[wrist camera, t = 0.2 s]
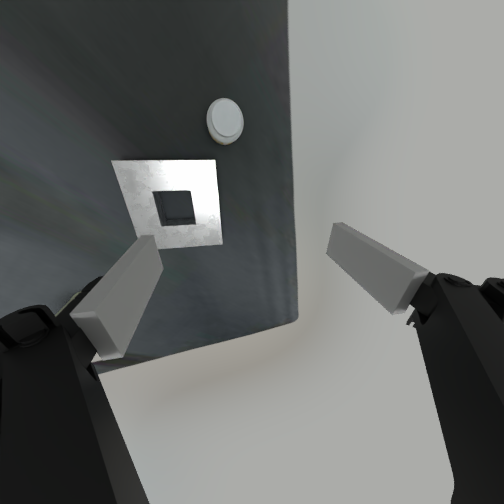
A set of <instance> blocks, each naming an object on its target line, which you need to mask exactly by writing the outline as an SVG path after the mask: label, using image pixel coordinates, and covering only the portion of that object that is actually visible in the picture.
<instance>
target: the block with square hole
mask: <svg viewBox="0 0 504 504" xmlns="http://www.w3.org/2000/svg"><path fill="white" fill-rule="evenodd" d="M112 164H113V167H114V170H115V173H116V176H117V179H118V182H119V185H120V187H121V190H122V193H123V196H124V199H125V202H126V205H127V208H128V211H129V214H130V216H131V219H132V222H133V225H134V228H135V231H136V234H137V237H138V238H139V237H140V236H141V235H154V239H155V242H156V245H157V249H166V248H179V247H192V246H205V245H218V244H223V242H222V229H221V218H220V207H219V196H218V185H217V174H216V163H215V159H189V160H114V161H112ZM177 190H191V194H192V201H193V207H194V213H195V218H190V219H171V220H166V216H165V212H164V208H163V204H162V200H161V195H160V191H177Z"/></svg>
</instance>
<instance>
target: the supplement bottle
mask: <svg viewBox="0 0 504 504" xmlns="http://www.w3.org/2000/svg"><path fill="white" fill-rule="evenodd" d="M243 125H244V120H243V115H242V112H241V110H240V108H239V107H238V105H237V104H236V103H235V102H234V101H232V100H230V99H227V98H220V99H217V100H215V101H214V102H213V103H212V104H211V105H210V107H209V109H208V112H207V126H208V130H209V133H210V135H211V137H212V138H213V139H214V140H215V141H216V142H217V143H219V144H221V145H228V144H230V143H232V142H234V141H236V140H237V139H238V138H239V136H240V135H241V133H242V130H243Z"/></svg>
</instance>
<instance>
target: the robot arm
mask: <svg viewBox="0 0 504 504" xmlns="http://www.w3.org/2000/svg"><path fill="white" fill-rule="evenodd" d="M326 254H327V255H328V256H329V257H330V258H331V259H332V260H334V261H335V262H336V263H337V264H338V265H339V266H340V267H341V268H342V269H343V270H344V271H346V272H347V273H348V274H349V275H350V276H351V277H352V278H353V279H354V280H355V281H356V282H357V283H358V284H359V285H361V286H362V287H363V288H364V289H365V290H366V291H367V292H368V293H369V294H370V295H371V296H372V297H374V298H375V299H376V300H377V301H378V302H379V303H380V304H381V305H382V306H383V307H384V308H386V310H388V311H389V312H390V313H391V314H392V315H394V314H400V313H405V311H406V310H407V308H408V306H409V305H412V306H413V307H414V308H415V310H414V311H413V313H412V315H411V316H410V318H409V319H408V321H407V325H409V324H410V323H411V322H415V324H414V325H413V327H415V328H416V330H417V334H418V338H419V342H420V346H421V350H422V354H423V358H424V362H425V366H426V370H427V374H428V377H429V382H430V385H431V389H432V393H433V397H434V401H435V405H436V409H437V413H438V417H439V421H440V425H441V429H442V433H443V437H444V441H445V445H446V449H447V452H448V456H449V460H450V464H451V468H452V472H453V477H454V491H453V495H452V498H451V504H504V279H500V278H487V279H486V280H485V281H484V283H483V284H482V285H481V286H478V285H473V284H472V283H471V282H469V281H467V280H465V279H463V278H460V277H458V276H455V275H450V274H445V273H439V274H437V275H435V274H433V273H431V272H429V270H427V269H425V268H423V267H421V266H420V265H418V264H416V263H414V262H413V261H411V260H409V259H407V258H405V257H404V256H402V255H400V254H398V253H396V252H394V251H393V250H391V249H389V248H387V247H385V246H384V245H382V244H380V243H378V242H377V241H375V240H373V239H371V238H369V237H368V236H366V235H364V234H362V233H360V232H359V231H357V230H355V229H353V228H351V227H350V226H348V225H346V224H344V223H333V227H332V231H331V235H330V240H329V244H328V248H327V252H326ZM162 271H163V266H162V262H161V259H160V256H159V252H158V249H157V245H156V242H155V239H154V235H141V236H140V237H139V238H138V239H137V240H136V241H135V243H134V244H133V245H132V246H131V247H130V248H129V249H128V250H127V251H126V252H125V254H124V255H123V256H122V257H121V258H120V259H119V260H118V261H117V262H116V263H115V265H114V266H113V267H112V268H111V269H110V270H109V271H108V272H107V273H106V274H105V275H104V276H101V277H98V278H96V279H95V280H93V281H92V282H90V283H89V284H88V285H87V286H86V287H85V288H84V289H83V290H82V291H81V293H79V294H78V295H77V296H76V297H75V299H73V300H72V301H71V302H70V303H69V304H68V305H67V306H66V307H65V308H64V309H63V310H62V311H61V312H60V313H59V314H58V315H57V316H56V317H55V315H54V314H53V313H52V311H51V310H50V309H49V308H48V307H47V306H46V305H34V306H29V307H26V308H23V309H20V310H17V311H15V312H13V313H10V314H8V315H6V316H4V317H3V318H1V319H0V504H149V501H148V499H147V497H146V494H145V491H144V489H143V486H142V484H141V482H140V479H139V477H138V474H137V471H136V469H135V467H134V464H133V461H132V459H131V456H130V454H129V451H128V449H127V447H126V444H125V442H124V439H123V437H122V434H121V431H120V429H119V427H118V424H117V422H116V419H115V417H114V414H113V412H112V409H111V407H110V404H109V402H108V399H107V397H106V394H105V392H104V389H103V387H102V384H101V382H100V379H99V377H98V374H97V372H96V369H95V367H94V365H93V364H92V363H91V361H92V359H93V357H94V356H95V354H96V352H97V353H98V354H99V356H100V357H101V359H102V360H109V359H115V358H121V357H123V356H124V354H125V352H126V349H127V347H128V345H129V343H130V341H131V338H132V336H133V334H134V332H135V330H136V328H137V325H138V323H139V321H140V319H141V317H142V314H143V312H144V310H145V308H146V306H147V304H148V301H149V299H150V297H151V295H152V293H153V290H154V288H155V286H156V284H157V282H158V280H159V277H160V275H161V273H162Z"/></svg>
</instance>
